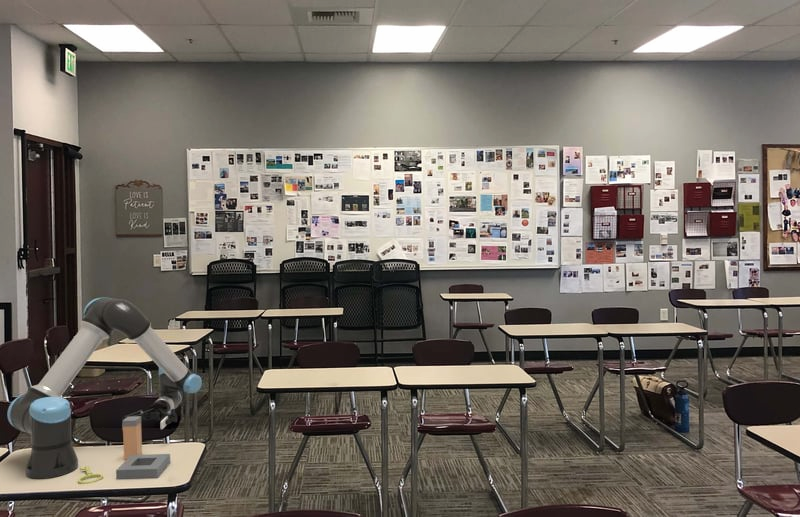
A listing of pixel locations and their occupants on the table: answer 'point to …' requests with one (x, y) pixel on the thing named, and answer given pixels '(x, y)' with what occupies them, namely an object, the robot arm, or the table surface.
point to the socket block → (143, 466)
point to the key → (89, 476)
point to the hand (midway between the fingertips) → (142, 426)
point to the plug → (132, 436)
